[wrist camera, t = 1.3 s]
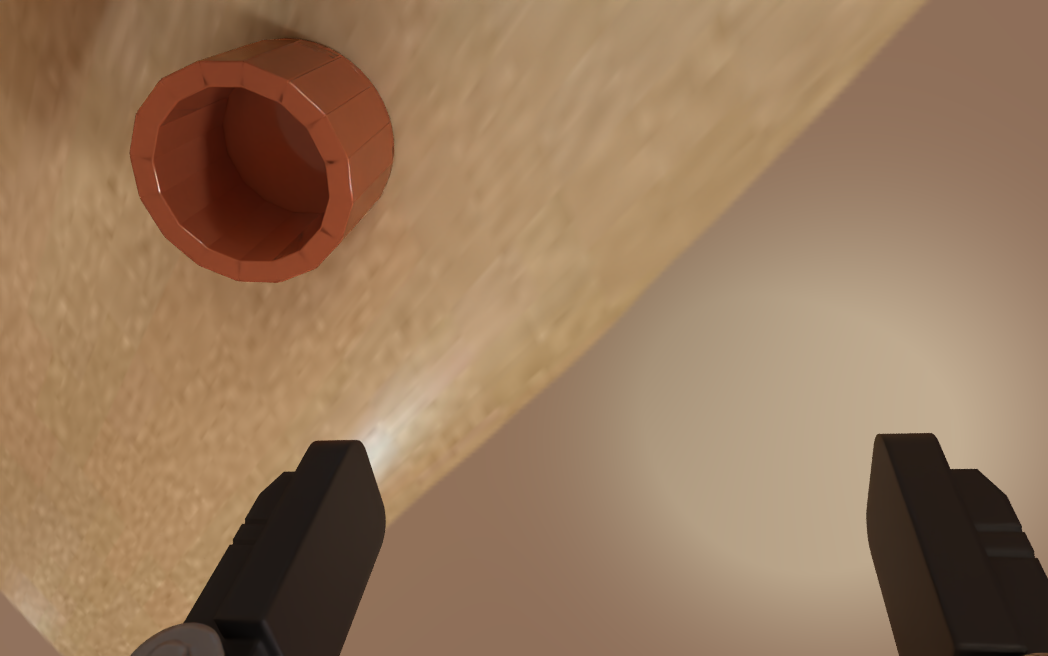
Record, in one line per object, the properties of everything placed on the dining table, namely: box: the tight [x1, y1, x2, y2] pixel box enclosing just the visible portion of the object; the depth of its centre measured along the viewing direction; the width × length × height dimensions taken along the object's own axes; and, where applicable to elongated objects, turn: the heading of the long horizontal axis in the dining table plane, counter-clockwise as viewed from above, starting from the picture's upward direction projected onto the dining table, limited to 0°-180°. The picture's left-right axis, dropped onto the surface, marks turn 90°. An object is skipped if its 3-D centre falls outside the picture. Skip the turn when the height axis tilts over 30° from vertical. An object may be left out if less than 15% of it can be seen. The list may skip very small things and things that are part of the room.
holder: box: [130, 38, 394, 283], centre depth 36 cm, size 9×9×7 cm
